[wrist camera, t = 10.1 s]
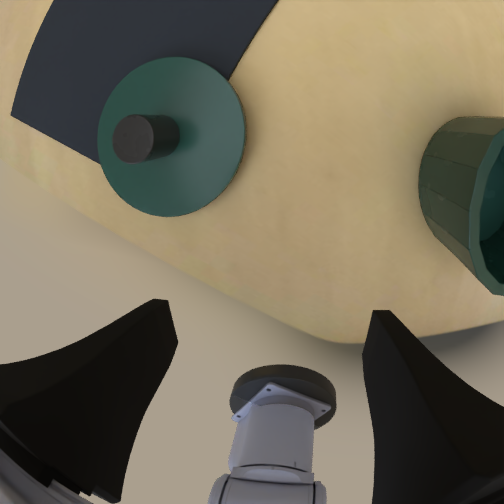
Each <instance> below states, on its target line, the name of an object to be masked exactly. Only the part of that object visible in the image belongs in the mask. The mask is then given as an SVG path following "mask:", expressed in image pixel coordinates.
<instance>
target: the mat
mask: <svg viewBox="0 0 504 504" xmlns="http://www.w3.org/2000/svg"><path fill="white" fill-rule="evenodd" d="M277 1H278V0H54V1H53V3H52V4H51V6H50V8H49V10H48V12H47V14H46V16H45V18H44V20H43V22H42V24H41V26H40V29H39V31H38V33H37V35H36V38H35V40H34V42H33V45H32V47H31V50H30V52H29V55H28V58H27V60H26V63H25V66H24V69H23V72H22V75H21V78H20V81H19V85H18V88H17V91H16V95H15V99H14V103H13V107H12V111H11V116H13V117H14V118H16V119H18V120H20V121H22V122H24V123H25V124H27V125H29V126H31V127H33V128H35V129H36V130H38V131H40V132H42V133H44V134H46V135H47V136H49V137H51V138H53V139H55V140H57V141H58V142H60V143H62V144H64V145H66V146H68V147H69V148H71V149H73V150H75V151H77V152H79V153H80V154H82V155H84V156H86V157H88V158H90V159H91V160H93V161H95V162H97V163H99V164H100V165H101V163H100V159H99V154H98V145H97V135H98V126H99V121H100V117H101V114H102V111H103V108H104V106H105V103H106V101H107V99H108V98H109V96H110V94H111V93H112V91H113V90H114V88H115V87H116V86H117V85H118V83H119V82H120V81H121V80H122V79H123V78H124V77H125V76H127V75H128V74H129V73H130V72H131V71H133V70H134V69H136V68H137V67H139V66H141V65H143V64H145V63H147V62H150V61H153V60H156V59H159V58H165V57H187V58H191V59H195V60H198V61H201V62H203V63H205V64H207V65H209V66H211V67H212V68H214V69H215V70H217V71H218V72H219V73H220V74H222V75H223V76H224V77H225V78H226V79H227V80H229V78H230V76H231V75H232V73H233V71H234V69H235V68H236V66H237V64H238V62H239V61H240V59H241V57H242V56H243V54H244V52H245V51H246V49H247V47H248V46H249V44H250V42H251V41H252V39H253V38H254V36H255V34H256V33H257V31H258V30H259V28H260V27H261V25H262V23H263V22H264V20H265V19H266V17H267V16H268V14H269V13H270V11H271V10H272V9H273V7H274V6H275V4H276V3H277Z"/></svg>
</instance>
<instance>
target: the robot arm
mask: <svg viewBox="0 0 504 504" xmlns="http://www.w3.org/2000/svg"><path fill="white" fill-rule="evenodd" d="M177 345H178V339H177V335H176V332H175V328H174V324H173V320H172V316H171V311H170V307H169V303H168V300H161V299H152V300H150V301H148V302H146V303H144V304H143V305H141V306H139V307H137V308H136V309H134V310H132V311H131V312H129V313H127V314H126V315H124V316H122V317H121V318H119V319H117V320H116V321H114V322H112V323H111V324H109V325H107V326H105V327H103V328H102V329H100V330H98V331H96V332H94V333H93V334H91V335H89V336H87V337H85V338H83V339H81V340H79V341H77V342H75V343H73V344H70V345H68V346H66V347H63V348H61V349H59V350H56V351H53V352H50V353H47V354H45V355H41V356H38V357H35V358H31V359H27V360H23V361H19V362H14V363H9V364H0V504H93V503H91V502H89V501H88V500H86V499H84V498H82V497H80V496H79V494H80V491H81V492H83V493H84V494H87V495H88V496H91V494H94V495H96V496H98V497H100V498H102V499H104V500H106V501H108V502H109V503H112V504H114V503H118V502H120V501H121V494H122V488H123V483H124V478H125V473H126V469H127V465H128V461H129V457H130V453H131V451H132V447H133V444H134V441H135V438H136V435H137V432H138V429H139V427H140V424H141V421H142V419H143V416H144V414H145V412H146V410H147V408H148V406H149V404H150V402H151V400H152V398H153V397H154V394H155V393H156V391H157V389H158V387H159V385H160V383H161V382H162V379H163V378H164V376H165V374H166V372H167V370H168V368H169V366H170V364H171V362H172V359H173V356H174V354H175V350H176V348H177ZM362 358H363V372H364V381H365V387H366V392H367V397H368V403H369V408H370V414H371V420H372V426H373V432H374V447H375V448H374V451H375V467H374V487H373V498H372V504H504V407H503V406H501V405H499V404H497V403H496V402H494V401H492V400H491V399H489V398H487V397H486V396H484V395H483V394H481V393H480V392H478V391H477V390H475V389H474V388H473V387H471V386H470V385H468V384H467V383H466V382H464V381H463V380H462V379H461V378H459V377H458V376H457V375H456V374H454V373H453V372H452V371H451V370H450V369H448V368H447V367H446V366H445V365H444V364H443V363H442V362H441V361H440V360H439V359H437V358H436V357H435V356H434V355H433V354H432V353H431V352H430V351H429V350H428V349H427V348H426V347H425V346H424V345H423V344H422V343H421V342H420V341H419V340H418V339H417V338H416V337H415V336H414V335H413V334H412V333H411V332H410V330H409V329H408V328H407V327H406V326H405V325H404V324H403V323H402V322H401V321H400V320H399V319H398V318H397V317H396V316H395V315H394V314H393V313H392V312H391V311H390V310H373V312H372V317H371V321H370V326H369V330H368V334H367V338H366V342H365V346H364V350H363V353H362ZM330 409H331V405H330V404H327V403H324V402H322V401H319V400H316V399H314V398H311V397H308V396H306V395H303V394H300V393H298V392H295V391H293V390H290V389H288V388H286V387H283V386H281V385H278V384H276V383H273V382H269V383H267V384H266V385H265V386H264V387H263V388H262V389H261V390H260V391H259V392H258V393H257V394H256V395H255V396H254V397H252V398H251V399H250V400H249V401H248V402H247V403H246V404H245V405H244V406H243V407H242V408H240V409H239V410H238V411H237V412H236V413H235V414H234V415H233V416H232V418H231V419H232V420H233V421H235V422H238V425H237V429H236V433H235V437H234V440H233V444H232V448H231V452H230V455H229V461H228V464H229V468H230V471H231V474H230V475H229V474H224V475H222V476H221V477H219V478H218V479H217V480H216V481H215V483H214V485H213V487H212V490H211V493H210V496H209V500H208V504H326V488H325V486H323V484H321V482H320V481H315V482H314V473H311V471H312V456H313V438H314V421H315V420H316V419H318V418H319V417H320V416H322V415H323V414H325V413H326V412H327V411H329V410H330Z"/></svg>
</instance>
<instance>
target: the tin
mask: <svg viewBox="0 0 504 504" xmlns="http://www.w3.org/2000/svg"><path fill="white" fill-rule="evenodd" d="M419 198H420V204H421V208H422V212H423V215H424V217H425V220H426V222H427V224H428V226H429V228H430V229H431V231H432V232H433V234H434V236H435V237H436V238H437V239H438V240H440V241H441V242H442V243H443V244H444V245H445V246H446V247H447V248H448V249H449V250H450V251H451V252H452V253H453V254H454V255H455V256H456V257H457V258H458V259H459V260H460V261H461V262H462V263H463V264H464V265H465V266H466V267H467V268H468V269H469V270H470V271H471V272H472V274H473V275H474V276H475V277H476V278H477V279H478V280H479V281H480V282H481V283H482V284H483V285H484V286H485V287H486V288H487V289H488V290H489V291H490V292H491V293H492V294H494V295H501V296H504V117H485V116H474V117H459V118H456V119H454V120H451V121H449V122H448V123H446V124H444V125H443V126H442V127H441V128H440V129H439V130H438V131H437V132H436V133H435V134H434V136H433V137H432V139H431V140H430V142H429V143H428V146H427V148H426V150H425V152H424V155H423V158H422V162H421V166H420V172H419Z"/></svg>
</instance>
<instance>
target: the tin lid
mask: <svg viewBox="0 0 504 504" xmlns="http://www.w3.org/2000/svg"><path fill="white" fill-rule="evenodd" d="M245 144H246V120H245V114H244V110H243V106H242V104H241V101H240V99H239V97H238V95H237V93H236V91H235V90H234V88H233V86H232V85H231V84H230V83H229V82H228V80H227V79H226V78H225V77H224V76H223V75H222V74H220V73H219V72H218V71H217V70H215V69H214V68H212V67H211V66H209V65H207V64H205V63H203V62H201V61H198V60H195V59H191V58H187V57H165V58H159V59H156V60H153V61H150V62H147V63H145V64H143V65H141V66H139V67H137V68H136V69H134V70H133V71H131V72H130V73H129V74H128V75H127V76H125V77H124V78H123V79H122V80H121V81H120V82H119V83H118V85H117V86H116V87H115V88H114V90H113V91H112V93H111V94H110V96H109V98H108V99H107V101H106V103H105V106H104V108H103V111H102V114H101V117H100V121H99V126H98V135H97V145H98V154H99V159H100V163H101V167H102V169H103V172H104V174H105V176H106V178H107V180H108V182H109V184H110V185H111V186H112V188H113V189H114V191H115V192H116V193H117V194H118V195H119V196H120V197H121V198H122V199H123V200H124V201H125V202H126V203H128V204H129V205H131V206H132V207H134V208H136V209H138V210H140V211H142V212H144V213H147V214H150V215H155V216H161V217H174V216H181V215H186V214H189V213H192V212H194V211H197V210H199V209H201V208H203V207H204V206H206V205H208V204H209V203H210V202H212V201H213V200H214V199H216V198H217V197H218V196H219V195H220V194H221V193H222V192H223V191H224V190H225V189H226V187H227V186H228V185H229V184H230V182H231V181H232V179H233V177H234V176H235V174H236V173H237V170H238V168H239V166H240V163H241V161H242V157H243V154H244V150H245Z"/></svg>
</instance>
